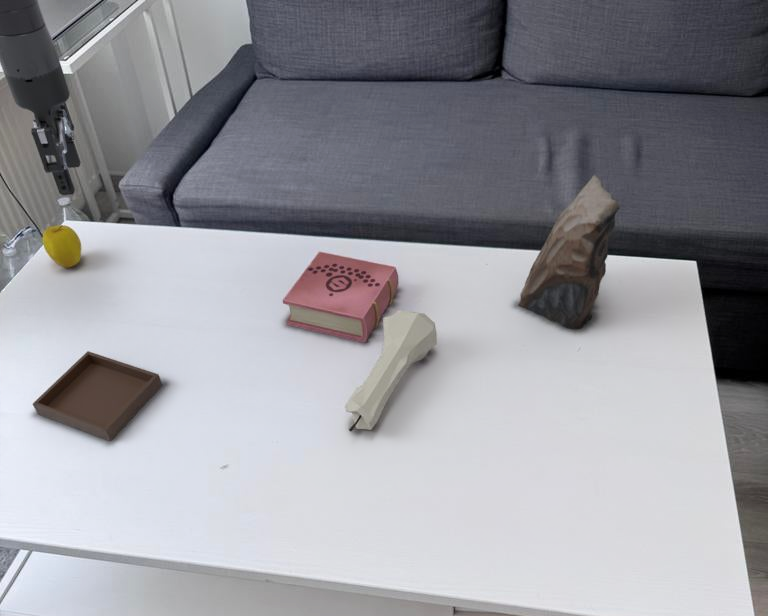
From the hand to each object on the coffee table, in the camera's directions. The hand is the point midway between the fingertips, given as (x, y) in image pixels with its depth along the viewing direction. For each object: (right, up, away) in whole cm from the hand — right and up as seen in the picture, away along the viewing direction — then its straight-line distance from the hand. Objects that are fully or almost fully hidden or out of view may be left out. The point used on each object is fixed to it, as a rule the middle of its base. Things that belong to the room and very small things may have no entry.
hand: (71, 179), depth 114 cm
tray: (+4, -33, +3) cm, 34 cm away
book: (+41, -16, +14) cm, 47 cm away
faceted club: (+48, -32, +2) cm, 58 cm away
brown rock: (+77, -16, +12) cm, 80 cm away
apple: (-11, -5, +26) cm, 28 cm away
